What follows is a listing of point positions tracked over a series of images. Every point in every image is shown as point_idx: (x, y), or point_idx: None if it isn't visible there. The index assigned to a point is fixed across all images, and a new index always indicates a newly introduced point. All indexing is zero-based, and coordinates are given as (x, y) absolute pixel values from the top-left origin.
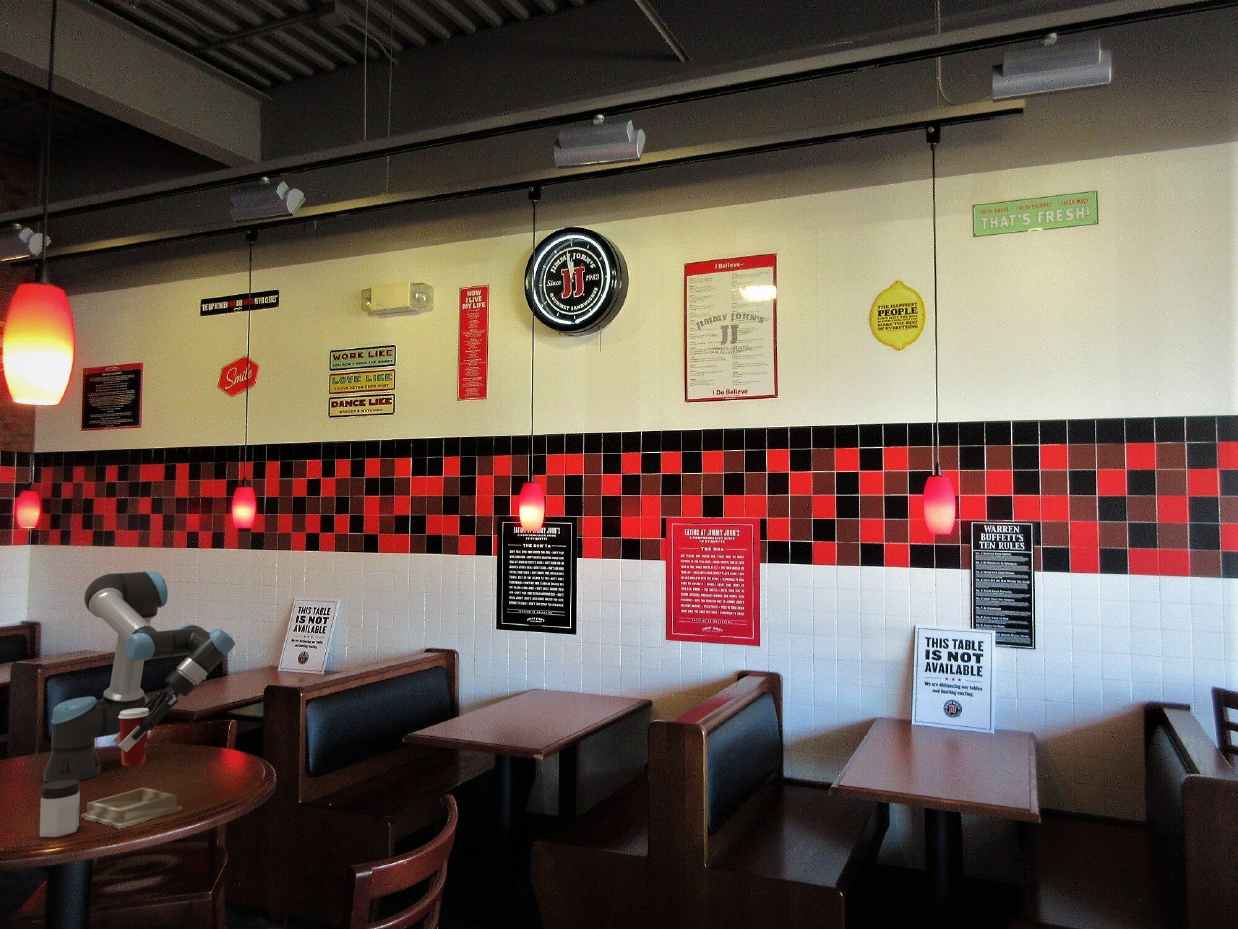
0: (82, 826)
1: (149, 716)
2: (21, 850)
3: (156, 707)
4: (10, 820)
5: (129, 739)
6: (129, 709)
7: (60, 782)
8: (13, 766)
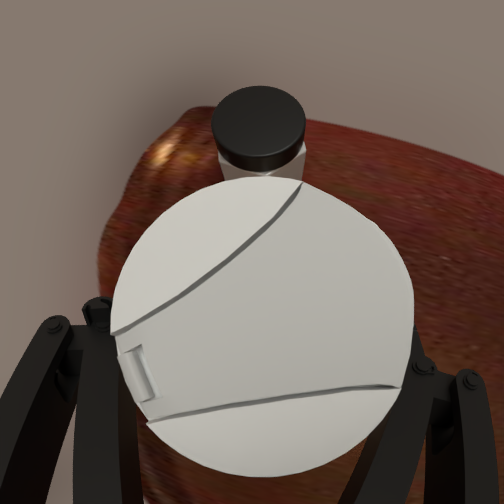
0: None
1: (79, 392)
2: (204, 117)
3: (73, 486)
4: (415, 144)
5: None
6: (387, 303)
7: (275, 119)
8: None
